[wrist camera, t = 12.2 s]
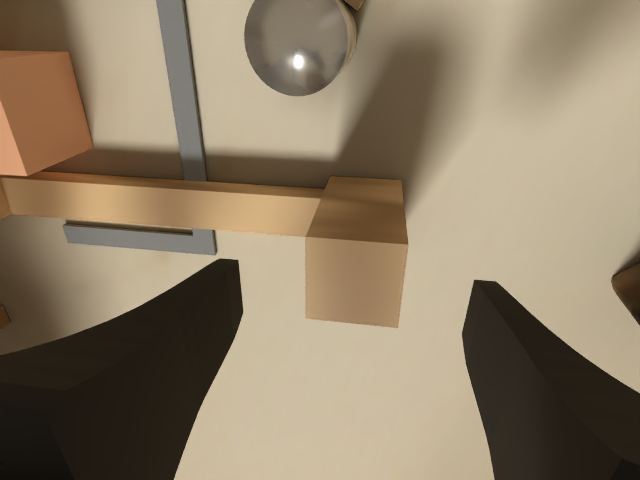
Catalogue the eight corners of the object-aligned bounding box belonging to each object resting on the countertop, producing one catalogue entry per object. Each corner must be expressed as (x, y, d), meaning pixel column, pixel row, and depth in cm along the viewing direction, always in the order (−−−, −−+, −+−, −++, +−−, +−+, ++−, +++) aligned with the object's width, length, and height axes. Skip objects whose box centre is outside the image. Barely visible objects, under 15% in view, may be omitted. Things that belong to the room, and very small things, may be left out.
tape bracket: (216, 253, 20) (215, 255, 20) (70, 240, 21) (68, 242, 21) (178, -41, 14) (176, -42, 14) (-20, -40, 15) (-24, -40, 15)
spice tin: (354, 80, 16) (345, 97, 12) (278, 78, 16) (248, 94, 12) (358, -11, 14) (349, -22, 11) (275, -11, 15) (240, -21, 11)
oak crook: (3, 213, 21) (-130, 273, 15) (-67, 23, 17) (-275, 15, 12) (394, 243, 18) (397, 327, 13) (417, 29, 14) (436, 24, 9)
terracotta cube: (94, 147, 19) (27, 176, 15) (16, 143, 19) (-66, 170, 16) (69, 51, 17) (-14, 59, 13) (-16, 49, 17) (-118, 57, 14)
